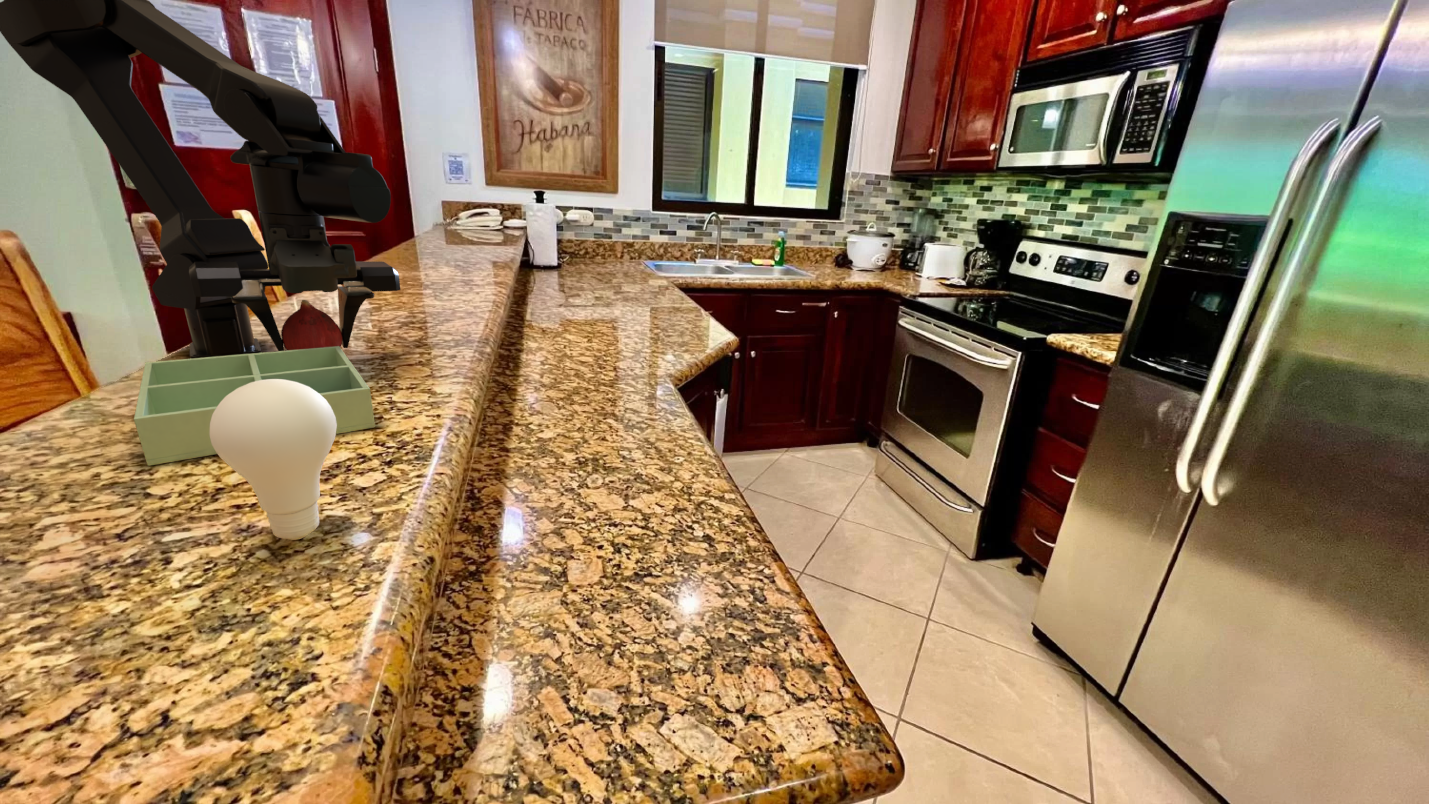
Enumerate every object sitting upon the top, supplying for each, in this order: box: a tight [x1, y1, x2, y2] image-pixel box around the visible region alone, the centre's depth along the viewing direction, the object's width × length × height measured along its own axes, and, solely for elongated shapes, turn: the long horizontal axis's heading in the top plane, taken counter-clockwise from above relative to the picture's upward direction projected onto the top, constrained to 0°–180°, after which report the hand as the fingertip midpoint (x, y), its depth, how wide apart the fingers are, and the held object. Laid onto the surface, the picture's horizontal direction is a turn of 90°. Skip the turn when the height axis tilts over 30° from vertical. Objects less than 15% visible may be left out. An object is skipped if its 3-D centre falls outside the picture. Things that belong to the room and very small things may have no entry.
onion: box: [280, 299, 342, 351], centre depth 65 cm, size 6×6×8 cm
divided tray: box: [133, 346, 376, 467], centre depth 52 cm, size 16×16×4 cm
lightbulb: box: [210, 379, 337, 541], centre depth 35 cm, size 6×6×11 cm
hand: (314, 350), depth 66 cm, fingers closed on onion, 6 cm apart
